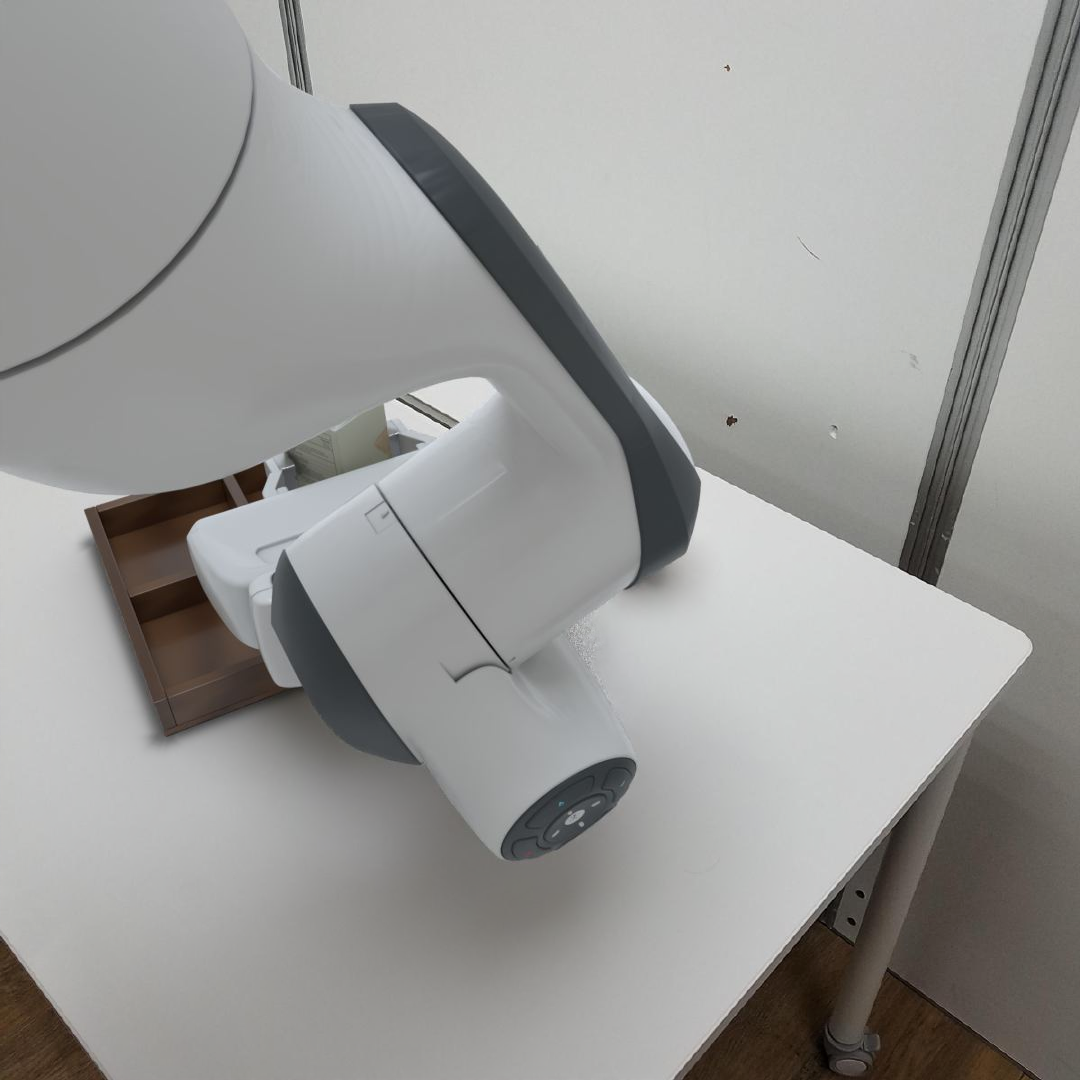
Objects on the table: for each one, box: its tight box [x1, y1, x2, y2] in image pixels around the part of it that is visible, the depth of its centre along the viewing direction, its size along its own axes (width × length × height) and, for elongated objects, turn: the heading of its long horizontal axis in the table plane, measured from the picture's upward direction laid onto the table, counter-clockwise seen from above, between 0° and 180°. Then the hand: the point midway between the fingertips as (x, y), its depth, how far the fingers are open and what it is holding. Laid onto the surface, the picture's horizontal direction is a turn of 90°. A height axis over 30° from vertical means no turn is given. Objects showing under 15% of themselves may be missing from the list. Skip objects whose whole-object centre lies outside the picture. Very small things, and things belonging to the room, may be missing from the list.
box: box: [284, 403, 392, 487], centre depth 67 cm, size 5×4×11 cm
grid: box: [83, 452, 294, 737], centre depth 74 cm, size 19×19×3 cm
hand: (331, 447), depth 67 cm, fingers closed on box, 5 cm apart
